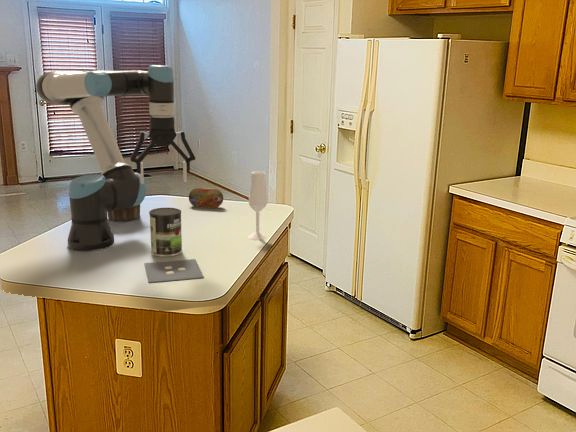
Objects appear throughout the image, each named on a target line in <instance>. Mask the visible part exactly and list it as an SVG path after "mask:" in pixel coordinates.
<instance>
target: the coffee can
mask: <svg viewBox="0 0 576 432" xmlns="http://www.w3.org/2000/svg"><path fill="white" fill-rule="evenodd" d="M148 213H149V227H150V228H149V229H150V232H149V233H150V253H151V255H153V256H156V257H161V258H163V257H164V258H167V257H168V258H169V257H175V256H178V255H181V254H182V253H183V244H182V242H183V241H182V210H181V209H180V208H175V207H158V208H153V209H151V210H149V212H148Z"/></svg>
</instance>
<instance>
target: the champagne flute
mask: <svg viewBox="0 0 576 432" xmlns="http://www.w3.org/2000/svg"><path fill="white" fill-rule="evenodd" d="M250 174H251V175H250V183H249V184H250V185H249V192H248V193H249V195H248V204H249V206H250V208H251V209H252V210H254V212H255V232H253V233H252V234H249V235H248V239H250V240H253V241H262V240H265V239H267V235H265V234H263V233H261V232H260V212H261V211H262V210H264V209H265V208H266V206H267V205H268V198H267V197H268V195H267V185H266V184H267V182H266V172H265V171H258V170H257V171H251V173H250Z"/></svg>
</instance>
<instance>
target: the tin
mask: <svg viewBox="0 0 576 432" xmlns="http://www.w3.org/2000/svg"><path fill="white" fill-rule="evenodd" d="M188 194H189V195H188V201H189V203H190V204H191V205H192V207H195V208H201V207H203V208H204V209H206V208H207V209H216V208H218V207H220V206H221V205H222V204H223V202H224V195H223V192H222V191H221V190H219V189H217V188H209V187H207V188H205V187H196V188H193V189H191V191H190V192H189V193H188Z"/></svg>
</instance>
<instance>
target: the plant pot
mask: <svg viewBox="0 0 576 432" xmlns="http://www.w3.org/2000/svg"><path fill="white" fill-rule="evenodd" d="M140 217H141V204H139V205H136V206H133V207H130V208H129V207H128V208H123V209H118V210H113V211H108V212H107V218H108V220H109V221H113V222H117V223H118V222H122V223H123V222H125V221H128V222H131V221H135V220H137V219H140Z"/></svg>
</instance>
